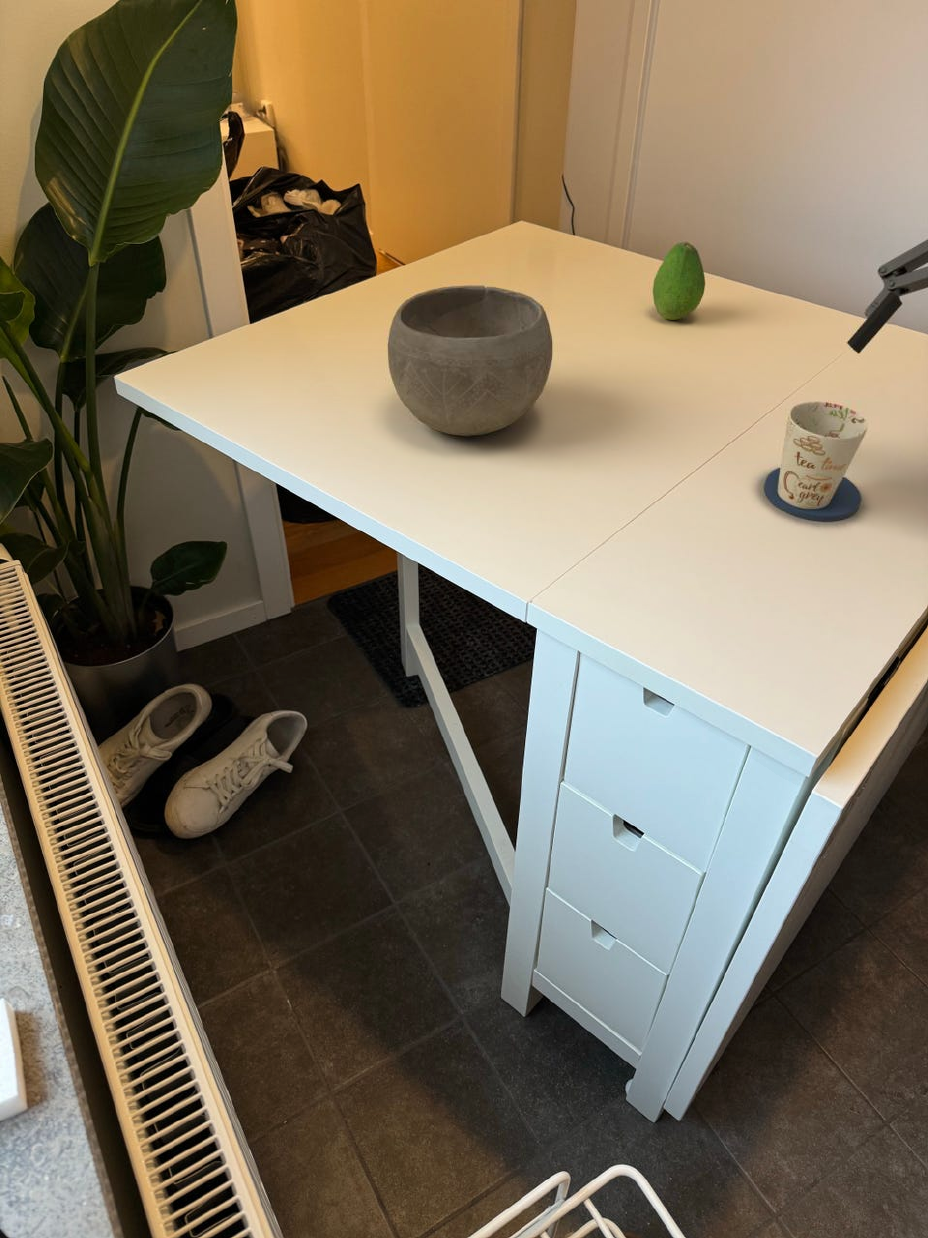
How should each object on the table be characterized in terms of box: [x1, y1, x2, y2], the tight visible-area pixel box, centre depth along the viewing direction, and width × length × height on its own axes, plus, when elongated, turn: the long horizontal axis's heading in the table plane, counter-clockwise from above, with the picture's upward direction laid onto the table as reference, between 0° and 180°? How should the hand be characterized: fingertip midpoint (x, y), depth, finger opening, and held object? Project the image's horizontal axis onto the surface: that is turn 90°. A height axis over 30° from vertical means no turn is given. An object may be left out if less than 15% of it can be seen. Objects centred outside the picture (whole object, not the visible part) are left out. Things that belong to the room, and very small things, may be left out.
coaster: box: [763, 466, 862, 522], centre depth 106 cm, size 11×11×1 cm
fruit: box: [652, 241, 706, 321], centre depth 141 cm, size 8×8×12 cm
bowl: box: [387, 285, 553, 437], centre depth 114 cm, size 21×21×15 cm
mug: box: [778, 401, 868, 509], centre depth 103 cm, size 8×13×10 cm, turn 133°
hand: (900, 382), depth 95 cm, fingers open, 13 cm apart
